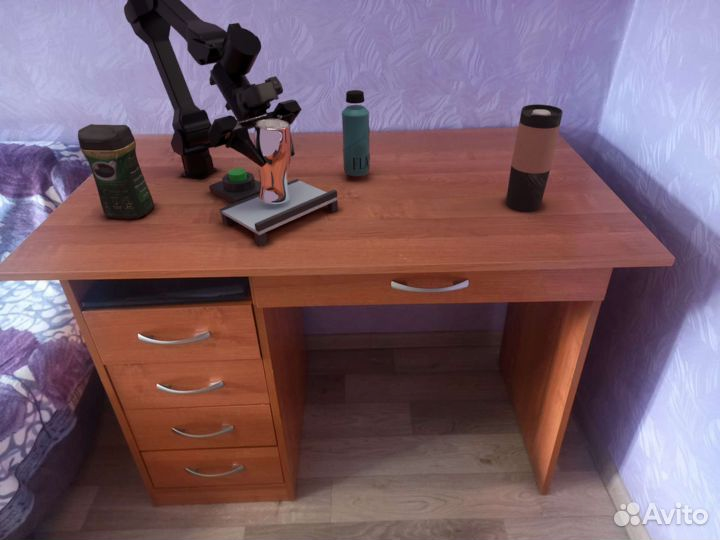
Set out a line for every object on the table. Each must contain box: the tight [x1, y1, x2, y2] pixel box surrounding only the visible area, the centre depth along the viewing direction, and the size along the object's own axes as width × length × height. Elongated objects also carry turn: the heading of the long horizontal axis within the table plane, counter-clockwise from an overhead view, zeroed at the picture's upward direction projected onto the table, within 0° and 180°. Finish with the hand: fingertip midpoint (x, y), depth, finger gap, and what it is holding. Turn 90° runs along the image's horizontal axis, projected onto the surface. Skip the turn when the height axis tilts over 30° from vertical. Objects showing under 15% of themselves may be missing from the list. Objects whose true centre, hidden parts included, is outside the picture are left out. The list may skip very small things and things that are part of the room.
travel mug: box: [505, 103, 563, 213], centre depth 96 cm, size 8×8×20 cm
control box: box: [208, 171, 260, 205], centre depth 107 cm, size 11×9×4 cm
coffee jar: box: [77, 123, 155, 220], centre depth 96 cm, size 10×8×19 cm
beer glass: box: [253, 119, 292, 204], centre depth 92 cm, size 7×7×15 cm
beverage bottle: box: [341, 89, 371, 177], centre depth 109 cm, size 6×7×20 cm
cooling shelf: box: [219, 178, 339, 247], centre depth 97 cm, size 13×20×4 cm, turn 136°
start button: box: [227, 167, 247, 182], centre depth 105 cm, size 4×4×2 cm
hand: (278, 160), depth 91 cm, fingers closed on beer glass, 7 cm apart
